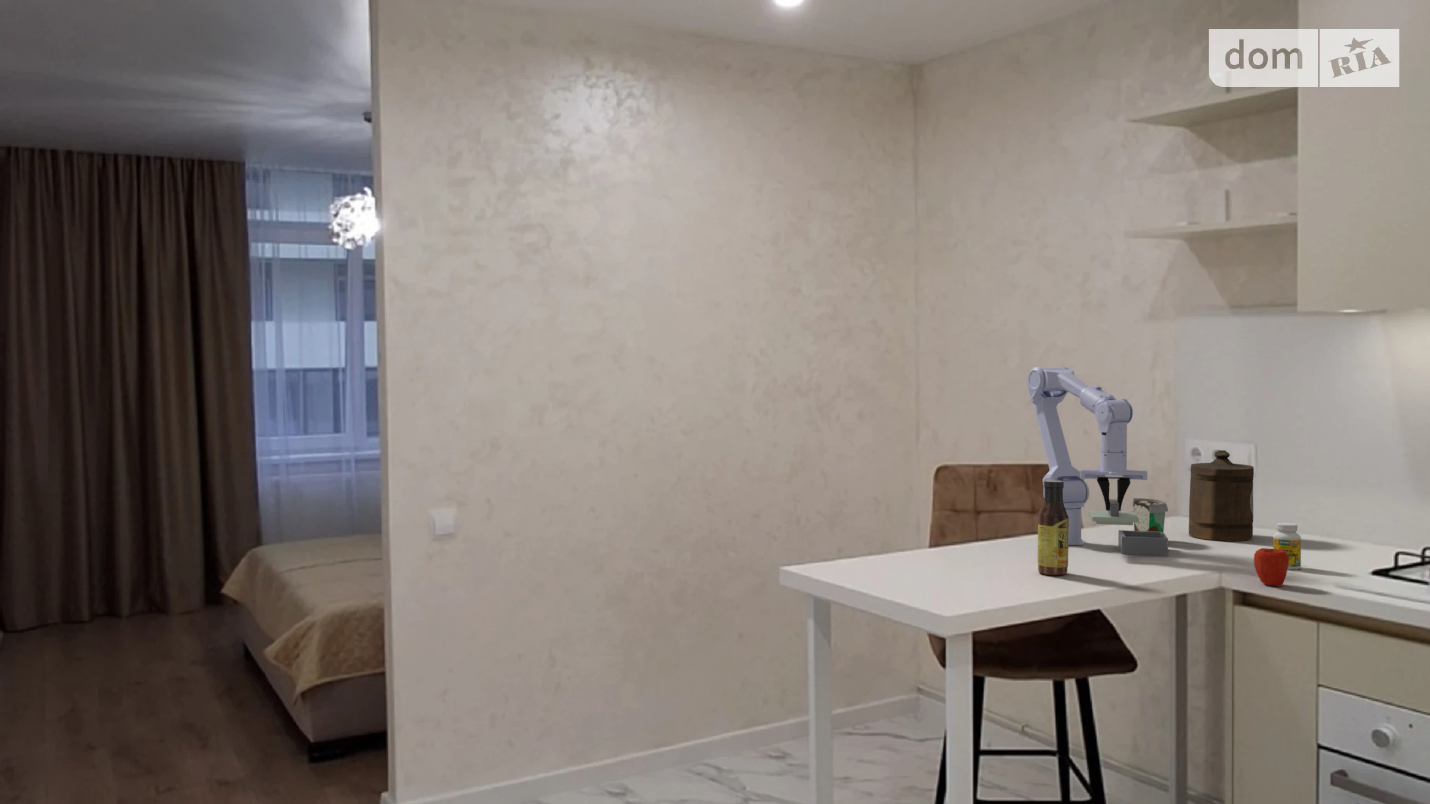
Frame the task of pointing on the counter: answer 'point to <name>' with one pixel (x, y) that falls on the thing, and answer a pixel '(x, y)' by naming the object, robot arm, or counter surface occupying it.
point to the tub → (1143, 542)
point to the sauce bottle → (1053, 531)
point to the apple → (1271, 566)
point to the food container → (1149, 514)
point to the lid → (1114, 515)
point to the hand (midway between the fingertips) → (1113, 510)
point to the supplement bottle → (1289, 543)
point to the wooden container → (1221, 500)
